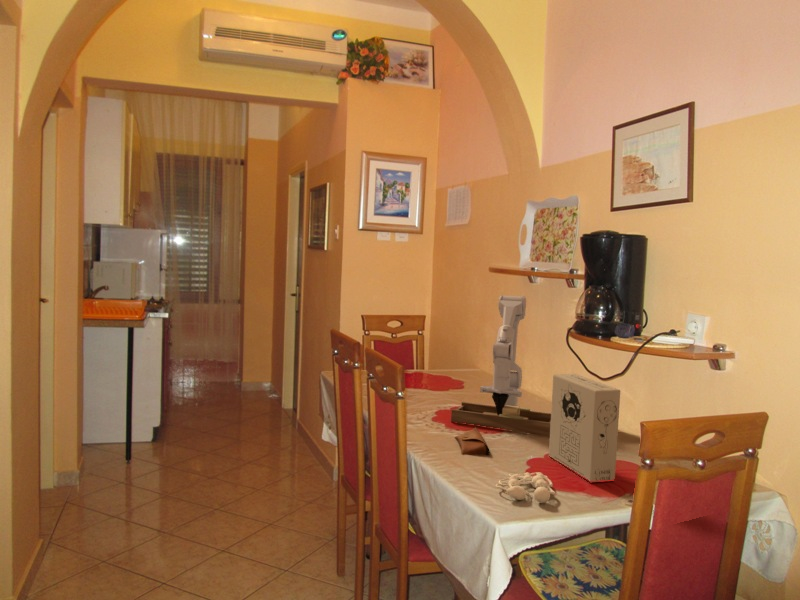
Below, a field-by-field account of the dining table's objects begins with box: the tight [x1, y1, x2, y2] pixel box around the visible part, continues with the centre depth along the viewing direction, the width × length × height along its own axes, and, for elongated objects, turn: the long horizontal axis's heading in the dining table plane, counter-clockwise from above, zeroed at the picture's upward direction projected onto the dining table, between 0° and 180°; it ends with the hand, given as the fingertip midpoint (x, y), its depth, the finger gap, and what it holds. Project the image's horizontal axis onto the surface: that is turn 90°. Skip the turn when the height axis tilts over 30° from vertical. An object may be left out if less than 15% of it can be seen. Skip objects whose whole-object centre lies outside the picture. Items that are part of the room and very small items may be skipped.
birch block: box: [502, 405, 521, 417], centre depth 214 cm, size 5×5×4 cm
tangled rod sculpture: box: [495, 471, 556, 504], centre depth 157 cm, size 19×14×4 cm
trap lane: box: [450, 401, 551, 438], centre depth 215 cm, size 13×34×5 cm, turn 67°
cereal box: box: [548, 373, 621, 481], centre depth 172 cm, size 22×8×25 cm, turn 17°
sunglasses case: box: [454, 426, 491, 456], centre depth 191 cm, size 18×7×7 cm
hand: (499, 414), depth 216 cm, fingers closed
